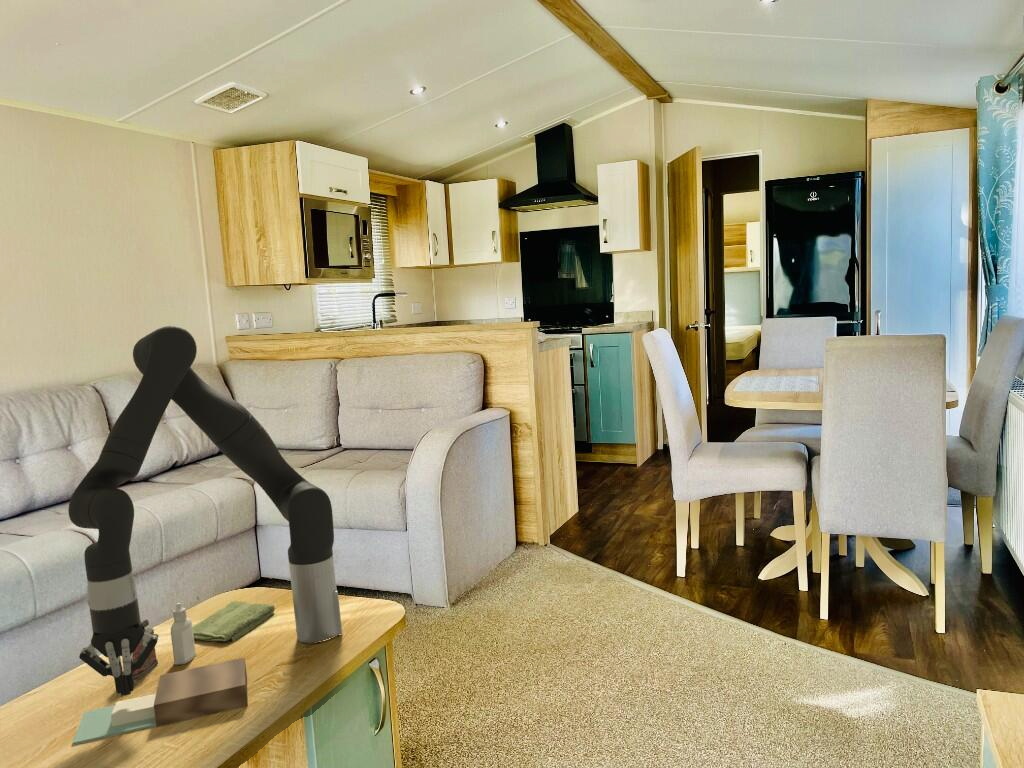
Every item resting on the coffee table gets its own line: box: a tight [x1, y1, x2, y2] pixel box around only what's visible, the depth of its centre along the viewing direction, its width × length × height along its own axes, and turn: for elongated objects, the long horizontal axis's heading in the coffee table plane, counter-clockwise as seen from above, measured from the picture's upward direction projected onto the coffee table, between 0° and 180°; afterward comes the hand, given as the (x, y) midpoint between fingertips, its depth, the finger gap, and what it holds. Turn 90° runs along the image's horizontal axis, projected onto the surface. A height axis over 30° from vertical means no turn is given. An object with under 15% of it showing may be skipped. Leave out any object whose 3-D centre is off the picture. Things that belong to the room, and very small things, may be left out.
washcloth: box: [192, 600, 276, 643], centre depth 174 cm, size 13×18×3 cm
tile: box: [111, 693, 156, 726], centre depth 136 cm, size 7×5×2 cm
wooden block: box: [154, 657, 249, 728], centre depth 140 cm, size 15×12×4 cm
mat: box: [71, 704, 156, 746], centre depth 136 cm, size 13×11×1 cm
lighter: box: [132, 618, 159, 682], centre depth 154 cm, size 8×3×10 cm, turn 168°
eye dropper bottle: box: [170, 602, 197, 666], centre depth 158 cm, size 4×6×12 cm
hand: (126, 693), depth 136 cm, fingers closed
